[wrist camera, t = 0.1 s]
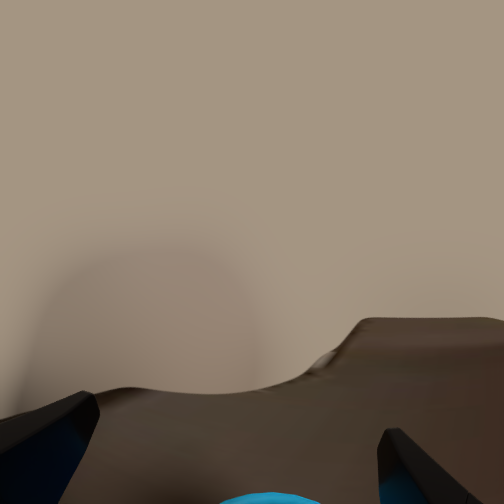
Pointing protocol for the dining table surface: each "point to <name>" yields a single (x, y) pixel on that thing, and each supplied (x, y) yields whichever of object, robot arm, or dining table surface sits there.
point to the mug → (269, 499)
